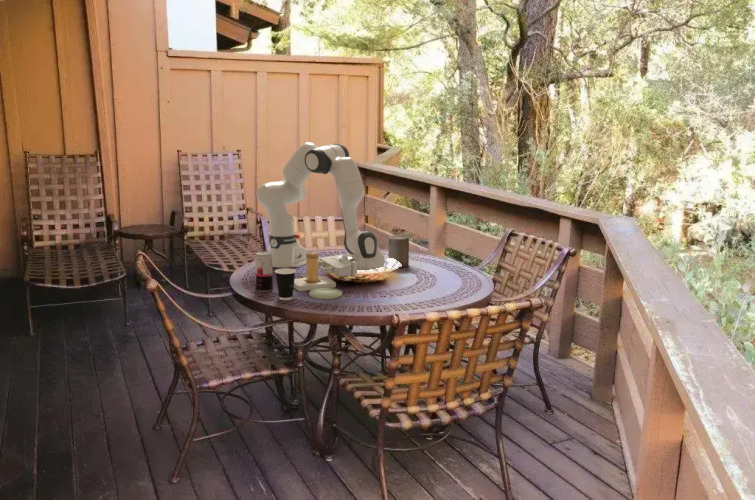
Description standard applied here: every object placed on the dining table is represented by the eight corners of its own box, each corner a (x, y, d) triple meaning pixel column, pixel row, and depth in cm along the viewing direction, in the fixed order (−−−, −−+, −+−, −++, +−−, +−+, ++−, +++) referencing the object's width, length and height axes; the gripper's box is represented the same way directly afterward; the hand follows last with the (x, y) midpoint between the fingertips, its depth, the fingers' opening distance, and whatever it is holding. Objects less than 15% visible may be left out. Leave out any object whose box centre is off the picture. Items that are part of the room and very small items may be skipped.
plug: (316, 283, 280) (315, 252, 277) (320, 286, 275) (320, 254, 272) (304, 284, 278) (304, 253, 275) (308, 287, 273) (308, 255, 270)
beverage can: (260, 292, 265) (259, 255, 262) (253, 289, 270) (252, 252, 267) (275, 290, 268) (275, 253, 265) (268, 286, 274) (267, 250, 271)
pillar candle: (410, 264, 318) (411, 232, 315) (406, 268, 308) (406, 236, 305) (390, 262, 320) (391, 231, 317) (385, 267, 311) (385, 235, 308)
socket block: (318, 276, 292) (318, 271, 292) (335, 287, 275) (335, 282, 274) (283, 279, 285) (283, 274, 285) (298, 291, 268) (298, 286, 267)
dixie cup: (297, 300, 255) (297, 272, 252) (276, 302, 253) (276, 273, 250) (294, 295, 262) (294, 267, 260) (274, 296, 260) (273, 268, 258)
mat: (322, 288, 272) (322, 286, 272) (348, 293, 265) (348, 291, 265) (302, 295, 261) (302, 293, 261) (329, 301, 255) (329, 298, 254)
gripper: (338, 252, 290) (308, 255, 284) (357, 262, 272) (326, 265, 266) (338, 266, 292) (308, 269, 286) (357, 277, 274) (326, 280, 268)
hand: (317, 267), depth 276 cm, fingers open, 8 cm apart
